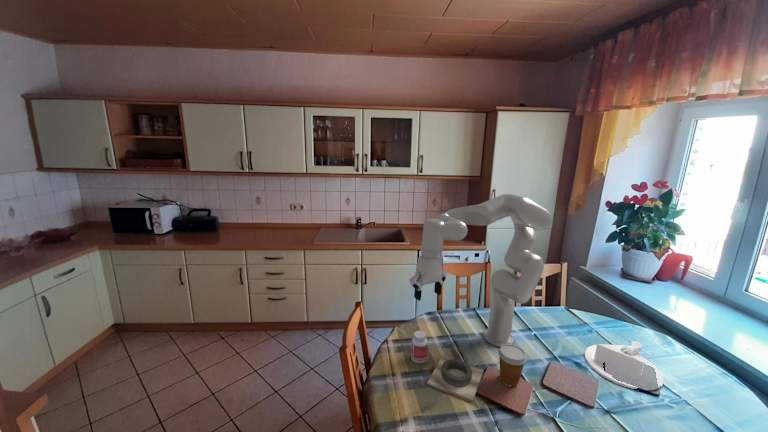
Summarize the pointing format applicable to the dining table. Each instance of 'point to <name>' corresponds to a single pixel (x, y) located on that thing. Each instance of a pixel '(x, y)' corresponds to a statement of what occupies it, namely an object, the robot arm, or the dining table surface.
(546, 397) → the dining table surface
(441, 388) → the socket board
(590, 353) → the dish
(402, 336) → the dining table surface
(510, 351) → the disposable coffee cup
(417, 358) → the pill bottle
